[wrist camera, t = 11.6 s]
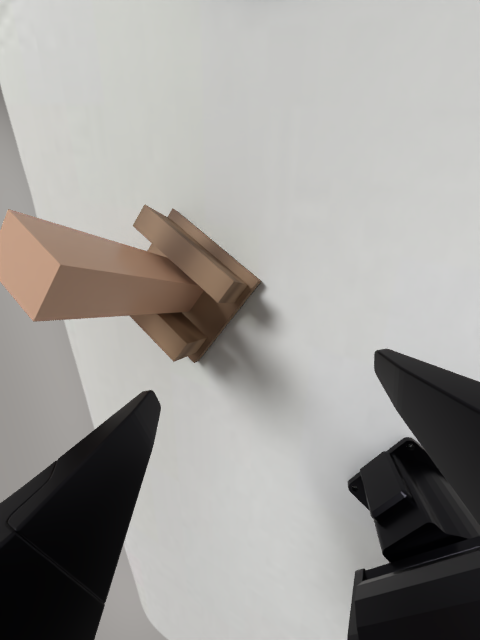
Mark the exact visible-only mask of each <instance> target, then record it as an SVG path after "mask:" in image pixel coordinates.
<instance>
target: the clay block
mask: <svg viewBox="0 0 480 640" xmlns="http://www.w3.org/2000/svg"><path fill="white" fill-rule="evenodd" d="M0 282H1V283H2V284H3V285H4V286H5V288H6V289H7V290H8V292H9V293H10V294H11V295H12V296H13V298H14V299H15V300H16V301H17V302H18V303H19V305H20V306H21V307H22V308H23V310H24V311H25V312H26V313H27V314H28V316H29V317H30V318H31V319H32V320H33V321H50V320H65V319H81V318H97V317H113V316H128V315H144V314H160V313H175V312H189V311H190V310H191V308H192V307H193V306H194V304H195V303H196V301H197V300H198V299H199V297H200V296H201V294H202V293H203V292H204V290H203V289H202V288H201V287H200V286H199V285H198V284H197V283H195V282H194V281H193V280H192V279H191V278H190V277H189V276H188V275H187V274H185V273H184V272H183V271H182V270H181V269H180V268H179V267H178V266H177V265H176V264H174V263H173V262H172V261H171V260H170V259H169V258H167V257H164V256H160V255H157V254H154V253H151V252H147V251H144V250H141V249H137V248H134V247H131V246H128V245H124V244H121V243H118V242H115V241H111V240H108V239H105V238H101V237H98V236H95V235H92V234H88V233H85V232H82V231H78V230H75V229H72V228H69V227H65V226H62V225H59V224H55V223H52V222H49V221H46V220H42V219H39V218H36V217H32V216H29V215H26V214H23V213H19V212H16V211H13V210H9V209H8V211H7V214H6V216H5V219H4V222H3V224H2V227H1V230H0Z"/></svg>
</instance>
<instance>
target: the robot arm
mask: <svg viewBox="0 0 480 640" xmlns="http://www.w3.org/2000/svg"><path fill="white" fill-rule="evenodd" d="M374 369H375V373H376V375H377V377H378V379H379V380H380V382H381V384H382V386H383V388H384V389H385V391H386V393H387V395H388V396H389V398H390V400H391V402H392V403H393V405H394V407H395V408H396V410H397V412H398V413H399V415H400V416H401V417H402V419H403V420H404V422H405V423H406V424H407V426H408V427H409V429H410V430H411V431H412V433H413V434H414V436H415V437H416V438H417V440H418V441H419V442H420V444H421V445H422V446H421V445H420V444H418V443H417V442H416V441H415V440H414V439H412V438H409V437H406V438H403V439H402V440H401V441H399V442H398V443H397V444H395V445H394V446H393V447H392V448H390V449H389V450H388V451H386V452H382V453H381V454H379V455H378V456H377V457H376V458H374V459H373V460H372V461H370V462H369V463H368V464H367V465H365V466H364V467H363V468H361V469H360V472H359V473H358V474H356V475H355V476H354V477H352V478H351V479H350V480H349V481H348V488H349V491H350V492H351V493H352V494H353V495H354V496H355V497H356V498H357V499H358V500H359V501H360V502H361V503H362V504H363V505H364V506H365V507H366V508H367V509H368V510H369V511H370V514H371V517H372V518H373V519H374V523H375V526H376V530H377V534H378V538H379V542H380V546H381V550H382V553H383V555H384V557H385V558H386V559H387V560H388V561H389V564H386V565H382V566H379V567H376V568H373V569H369V570H365V569H364V568H363V569H360V570H357V571H355V578H354V586H353V595H352V603H351V611H350V620H349V628H348V639H347V640H480V382H478V381H476V380H473V379H470V378H467V377H465V376H462V375H459V374H456V373H453V372H451V371H448V370H445V369H442V368H440V367H437V366H434V365H431V364H429V363H426V362H423V361H420V360H417V359H415V358H412V357H409V356H406V355H404V354H401V353H398V352H395V351H393V350H390V349H382V350H377V351H375V354H374ZM160 411H161V406H160V403H159V401H158V399H157V397H156V395H155V393H154V391H152V390H149V391H143V392H141V393H140V394H139V395H138V396H136V397H135V398H134V399H133V400H131V401H130V402H129V403H128V404H126V405H125V406H124V407H123V408H121V409H120V410H119V411H118V412H116V413H115V414H114V415H112V416H111V417H110V418H109V419H107V420H106V421H105V422H104V423H102V424H101V425H100V426H99V427H97V428H96V429H95V430H94V431H92V432H91V433H90V434H89V435H87V436H86V437H85V438H84V439H82V440H81V441H80V442H79V443H77V444H76V445H75V446H74V447H72V448H71V449H70V450H69V451H67V452H66V453H65V454H64V455H62V456H61V457H60V458H59V459H58V460H57V461H55V462H53V463H52V464H51V465H50V466H49V467H47V468H46V469H45V470H43V471H42V472H41V473H40V474H38V475H37V476H36V477H34V478H33V479H32V480H31V481H29V482H28V483H27V484H25V485H24V486H23V487H21V488H20V489H19V490H18V491H16V492H15V493H13V494H12V495H11V496H10V497H8V498H7V499H6V500H4V501H3V502H1V503H0V640H94V639H95V635H96V632H97V629H98V626H99V622H100V619H101V616H102V612H103V609H104V606H105V604H104V603H105V602H106V599H107V596H108V592H109V589H110V586H111V582H112V579H113V576H114V573H115V569H116V566H117V563H118V560H119V556H120V553H121V550H122V547H123V543H124V540H125V537H126V534H127V530H128V527H129V524H130V521H131V517H132V514H133V511H134V507H135V504H136V501H137V498H138V494H139V491H140V488H141V485H142V481H143V478H144V475H145V472H146V468H147V465H148V462H149V458H150V455H151V452H152V448H153V445H154V440H155V436H156V431H157V426H158V421H159V416H160ZM408 444H413V446H412V447H407V445H408ZM352 486H357V488H354V487H352Z"/></svg>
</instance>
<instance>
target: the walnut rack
mask: <svg viewBox="0 0 480 640" xmlns="http://www.w3.org/2000/svg"><path fill="white" fill-rule="evenodd" d="M133 226H134V227H135V228H136V229H137V230H138V231H139V232H140V233H141V234H142V235H144V236H145V237H146V238H147V239H148V240H149V241H150V242H151V243H152V244H151V246H150V248H149V249H148V251H147V252H151V253H154V254H157V255H160V256H164V257H167V258H169V259H170V260H171V261H172V262H173V263H174V264H176V265H177V266H178V267H179V268H180V269H181V270H182V271H183V272H184V273H185V274H187V275H188V276H189V277H190V278H191V279H192V280H193V281H194V282H195V283H197V284H198V285H199V286H200V287H201V288H202V289H203V290H204V292H203V293H202V294H201V296H200V297H199V299H198V300H197V301H196V303H195V304H194V306H193V307H192V308H191V310H190V311H189V312H175V313H160V314H144V315H129V316H130V317H131V318H132V319H133V320H134V321H135V322H136V323H137V324H138V325H139V326H140V327H141V328H142V329H143V330H144V331H145V332H146V333H147V334H148V335H149V336H150V337H151V338H152V340H153V341H154V342H155V343H156V344H157V345H158V346H159V347H160V348H161V349H162V350H163V351H164V352H165V353H166V354H167V355H168V356H169V357H170V358H171V359H172V360H173V361H177V360H179V359H182V358H184V357H187V356H188V357H189V358H190V359H191V360H192V361H193V362H194V363H195V362H197V361H199V360H200V358H201V357H202V356H203V354H204V353H205V352H206V351H207V349H208V348H209V347H210V346H211V344H212V343H213V342H214V341H215V339H216V338H217V337H218V335H219V334H220V333H221V332H222V330H223V329H224V328H225V327H226V325H227V324H228V323H229V322H230V320H231V319H232V318H233V316H234V315H235V314H236V313H237V311H238V310H239V309H240V308H241V306H242V305H243V304H244V303H245V301H246V300H247V299H248V297H249V296H250V295H251V294H252V292H253V291H254V290H255V289H256V287H257V286H258V285H259V284H260V282H261V281H260V280H259V279H258V278H257V277H256V276H254V275H253V274H252V273H251V272H250V271H248V270H247V269H246V268H245V267H244V266H242V265H241V264H240V263H239V262H238V261H236V260H235V259H234V258H233V257H232V256H230V255H229V254H228V253H227V252H226V251H224V250H223V249H222V248H221V247H220V246H218V245H217V244H216V243H215V242H214V241H212V240H211V239H210V238H209V237H208V236H206V235H205V234H204V233H203V232H202V231H200V230H199V229H198V228H197V227H196V226H194V225H193V224H192V223H191V222H190V221H188V220H187V219H186V218H185V217H184V216H182V215H181V214H180V213H179V212H177V211H176V210H174V209H172V211H171V212H170V214H169V216H168V217H166V216H164V215H162V214H161V213H159V212H157V211H155V210H154V209H152V208H150V207H148V206H147V205H144V206H143V208H142V210H141V212H140V214H139V215H138V217H137V219H136V221H135V223H134V225H133Z"/></svg>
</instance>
